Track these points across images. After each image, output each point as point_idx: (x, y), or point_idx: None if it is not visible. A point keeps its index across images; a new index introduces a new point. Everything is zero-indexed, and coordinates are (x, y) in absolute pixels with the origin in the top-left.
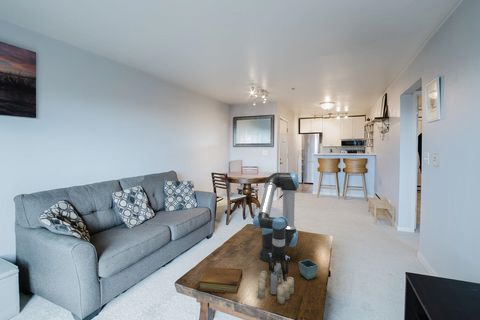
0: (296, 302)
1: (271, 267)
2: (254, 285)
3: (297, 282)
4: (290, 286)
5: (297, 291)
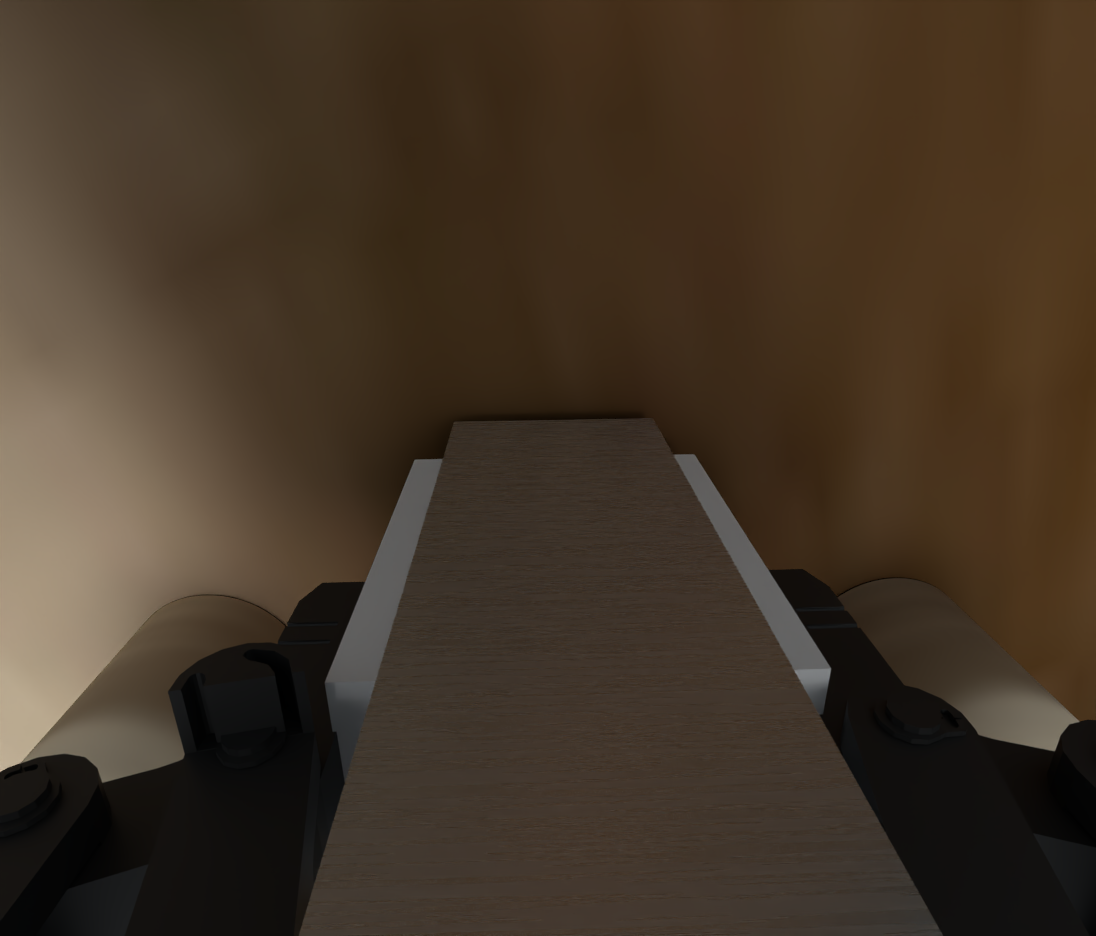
0: None
1: (38, 900)
2: (28, 732)
3: (1090, 55)
4: None
5: (1050, 540)
